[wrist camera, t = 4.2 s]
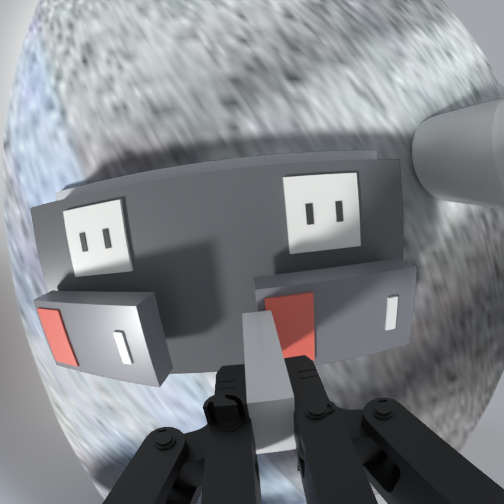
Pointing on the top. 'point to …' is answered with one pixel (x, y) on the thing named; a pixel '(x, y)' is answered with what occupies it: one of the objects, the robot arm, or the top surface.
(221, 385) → the robot arm
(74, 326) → the block
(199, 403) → the top surface
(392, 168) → the power strip
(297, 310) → the rocker
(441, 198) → the can
